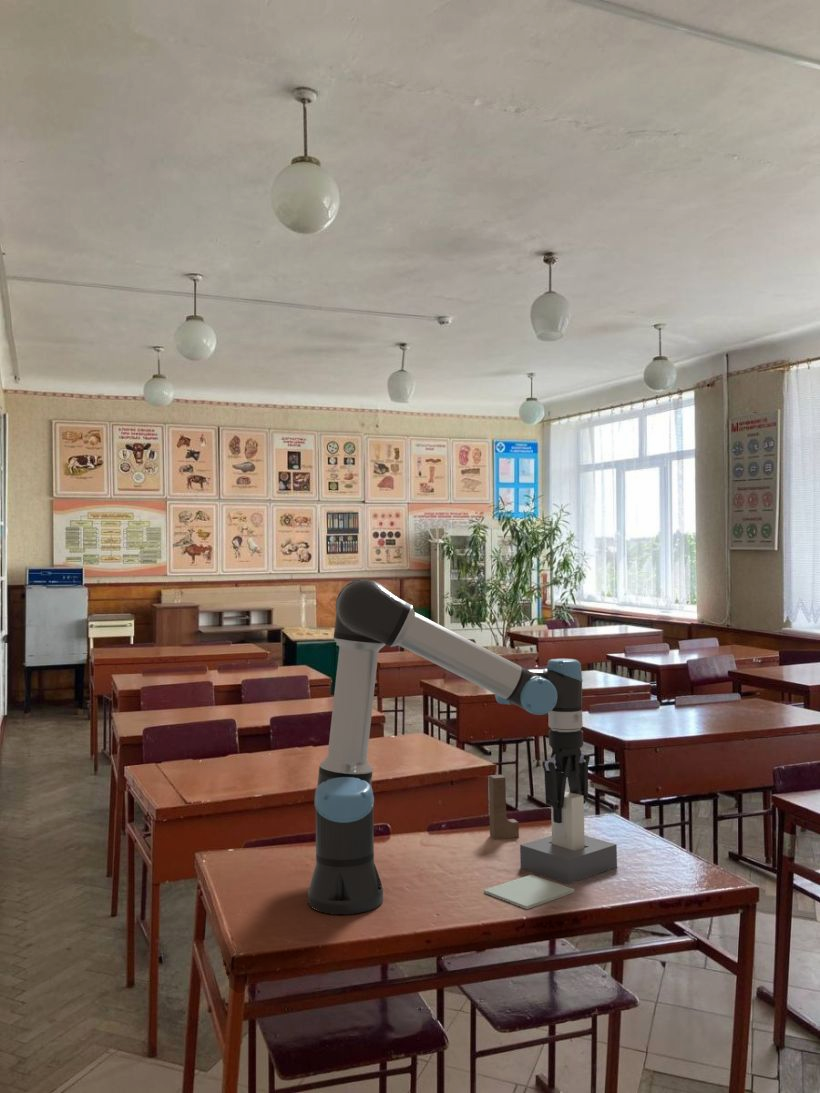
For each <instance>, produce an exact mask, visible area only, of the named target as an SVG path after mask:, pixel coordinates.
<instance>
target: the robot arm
mask: <svg viewBox="0 0 820 1093" xmlns="http://www.w3.org/2000/svg"><path fill="white" fill-rule="evenodd" d="M335 612H336V613H335V622H334V629H333V630H334V631H333V640H334V642H335V643H336V644H337V645H338V648H339V649H338V658H337V659H338V660H337V666H336V668H337V669H336V676H335V685H334V695H333V704H332V712H331V722H330V731H329V741H328V749H327V755H326V756H327V757H326V758H325V759H323V760H322V761H321V762H320V763H319V765H318V766H319V768H318V777H317V785H316V788H315V792H314V801H313V802H314V808H315V866H314V869H313V872H312V876H311V880H310V883H309V887H308V890H307V904H308V903H309V905H310V906H311V907H313V908H315V909H317V910H319V911H322V912H326V913H325V914H327V913H333V914H332V915H337V914H345V915H355V913H356V914H361V913H366V912H368V911H371V910H374V909H376V908H378V907H379V906H381V905H382V904H383V902H384V887H383V884H382V881H381V878H380V875H379V872H378V869H377V867H376V863H375V851H374V850H375V848H374V847H375V846H374V842H375V840H374V836H375V835H374V830H375V829H374V804H375V797H374V792H373V788H372V779H373V770H374V769H373V767H372V766H371V764H370V763H369V762H368V752H369V743H370V736H371V735H370V733H371V724H372V716H373V715H372V714H373V706H374V698H375V697H374V696H375V688H376V686H375V685H376V679H377V677H376V676H377V670H378V668H377V667H378V661H379V660H378V659H379V652H380V650H381V649H383V648H384V647H385V646H386V645H387V646H388V647H390V648H393V647H397V646H399V647H401V648H403V649H406V650H407V651H409V652H411V653H413V654H415V655H417V656H418V657H422V658H423V659H425V660H427V661H429V662H431V663H433V664H435V665H437V666H439V667H441V668H443V669H445V670H447V671H448V672H451V673H453V674H454V675H457V676H458V677H461V678H463V679H465V680H467V681H469V682H471V683H472V684H474V685H476V686H479V687H480V688H482V689H484V690H486V691H489V692H490V693H492V694H494V697H495V700H496V702H497V703H498V704H500V705H510V706H511V705H515V706H518V707H519V708H521V709H523V710H525V711H526V712H528V713H529V714H532V715H535V716H541V715H543V716H544V715H546V714H548V716H547V717H548V719H547V720H548V722H547V723H548V725H547V726H548V728H550V729H549V730H548V745H549V746H550V747H551V755H550V758H549V759H548V760H542V764H541V766H542V768H543V769H542V770H543V772H544V773H543V774H544V789H545V791H544V792H545V805H546V806H549V807H551V806H552V807H553V815H554V816H553V820H554V822H555V836H557V837H560V838H564V839H565V838H567V834H566V808H563V804H564V795H565V791H566V784H567V782H568V789H569V792H571V793H575V794H579V795H583V796H584V805H585V804H586V800H587V799H588V797H589V762H590V759H591V756H590V754H587V753H582V750H581V748H582V747H583V746H584V731H583V730H582V728H583V674H582V664H581V662H580V661H579V660H578V659H574V658H551V659H549V660H548V661H547V666H546V668H540V669H537V668H535V669H531V668H530V669H527V668H524V667H522V666H521V665H520V664H517V663H515V662H513V661H511V660H509V659H507V658H505V657H503V656H501V655H499V654H498V653H495V652H493V651H491V650H489V649H488V648H485V647H484V646H482V645H480V644H478V643H476V642H474V641H472V640H471V639H468V638H466V637H464V636H462V635H460V634H458V633H456V632H454V631H452V630H451V629H448V628H447V627H444V626H443V625H441V624H439V623H436V622H435V621H432V620H431V619H429V618H427V617H425V616H423V615H421V614H419V613H417V612H415V610H414V607H413V605H412V604H410V603H408V602H407V601H405V600H403V599H401V598H400V597H398V596H397V595H395V594H394V593H392V592H391V591H390V590H388V588H386V587H385V586H384V585H383V584H381V583H379V582H377V581H374V580H371V579H367V578H365V579H363V578H362V579H361V578H360V579H355V580H352V581H351V582H348V583H347V584H346V585H344V586H343V587H342V588H341V590H340V591H339V593H338V594H337V597H336V602H335ZM309 905H308V906H309ZM310 906H309V907H310ZM311 907H310V908H311ZM319 911H318V912H319ZM322 912H321V913H322Z"/></svg>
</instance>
